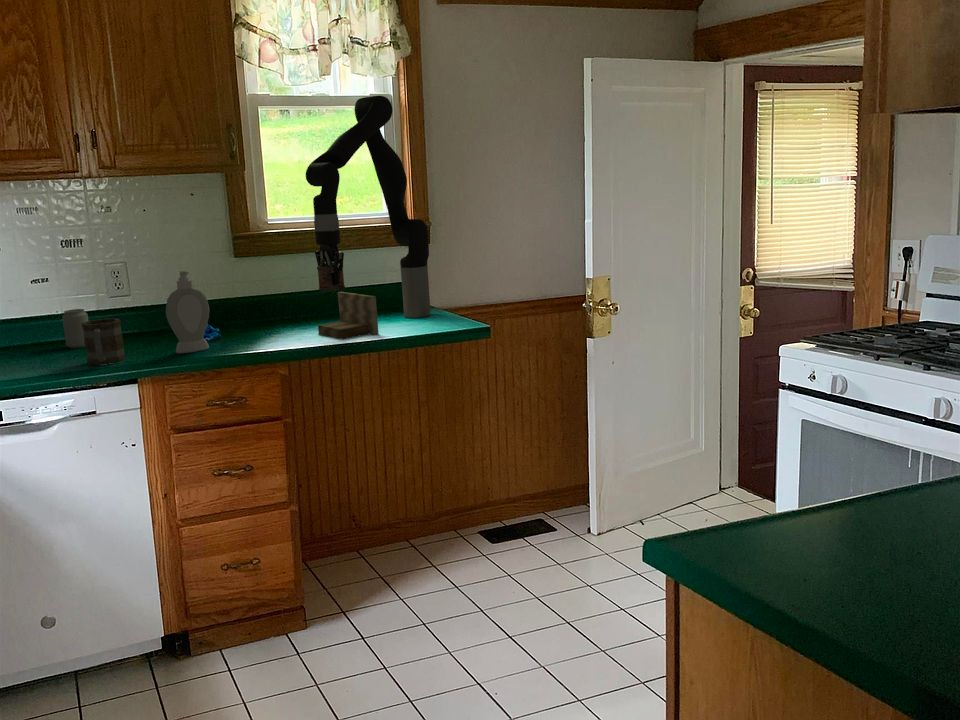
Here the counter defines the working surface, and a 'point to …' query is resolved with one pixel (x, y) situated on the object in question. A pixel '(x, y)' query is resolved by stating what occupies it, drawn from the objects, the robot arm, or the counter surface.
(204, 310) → the soap bottle
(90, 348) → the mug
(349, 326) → the wooden bookend
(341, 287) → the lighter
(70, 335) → the can
